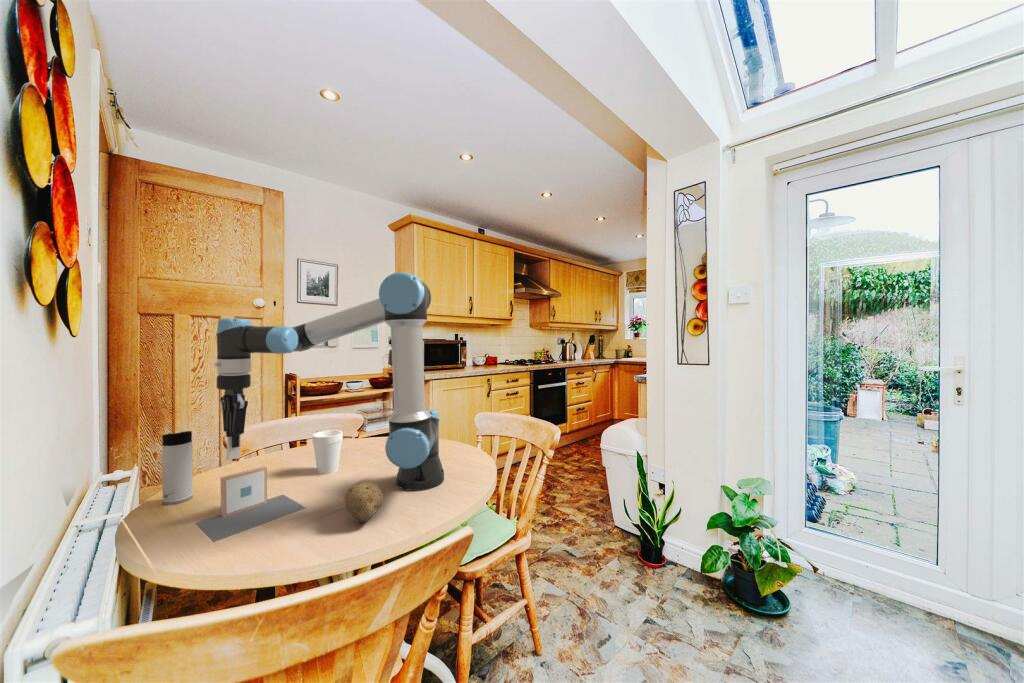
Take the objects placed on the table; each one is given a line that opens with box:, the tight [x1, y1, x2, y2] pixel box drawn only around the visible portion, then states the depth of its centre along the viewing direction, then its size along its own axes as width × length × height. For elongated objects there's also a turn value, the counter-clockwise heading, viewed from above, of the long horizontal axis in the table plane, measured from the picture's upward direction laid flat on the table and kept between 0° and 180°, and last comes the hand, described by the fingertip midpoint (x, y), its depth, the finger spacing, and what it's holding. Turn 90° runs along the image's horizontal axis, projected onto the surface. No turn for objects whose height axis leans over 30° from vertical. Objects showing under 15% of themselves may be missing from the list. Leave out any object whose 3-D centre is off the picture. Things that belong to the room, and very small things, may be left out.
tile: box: [220, 465, 268, 517], centre depth 97 cm, size 2×10×10 cm, turn 144°
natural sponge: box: [344, 480, 384, 523], centre depth 93 cm, size 9×9×10 cm
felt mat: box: [194, 494, 306, 543], centre depth 94 cm, size 14×20×1 cm
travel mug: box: [161, 430, 194, 507], centre depth 102 cm, size 6×7×20 cm
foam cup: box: [312, 429, 344, 475], centre depth 126 cm, size 10×9×13 cm
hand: (233, 458), depth 101 cm, fingers closed
